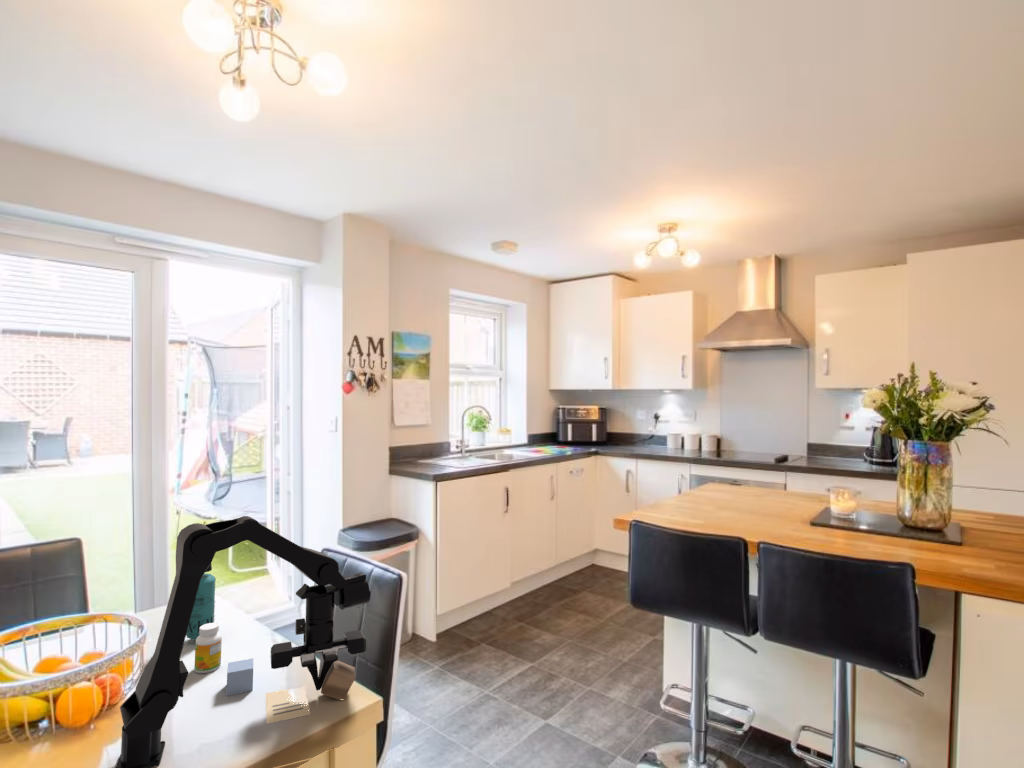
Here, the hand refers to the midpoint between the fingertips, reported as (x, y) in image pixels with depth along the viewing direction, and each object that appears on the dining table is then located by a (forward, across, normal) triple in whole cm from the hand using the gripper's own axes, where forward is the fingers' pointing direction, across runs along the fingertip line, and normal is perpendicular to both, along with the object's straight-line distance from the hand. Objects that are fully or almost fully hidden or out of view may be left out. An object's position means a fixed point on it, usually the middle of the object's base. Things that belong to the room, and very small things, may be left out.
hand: (318, 689), depth 113 cm
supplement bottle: (+2, +22, -24) cm, 33 cm away
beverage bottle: (+2, +25, -42) cm, 49 cm away
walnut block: (+1, -3, +1) cm, 3 cm away
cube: (+2, +15, -11) cm, 19 cm away
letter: (+2, +6, 0) cm, 6 cm away
